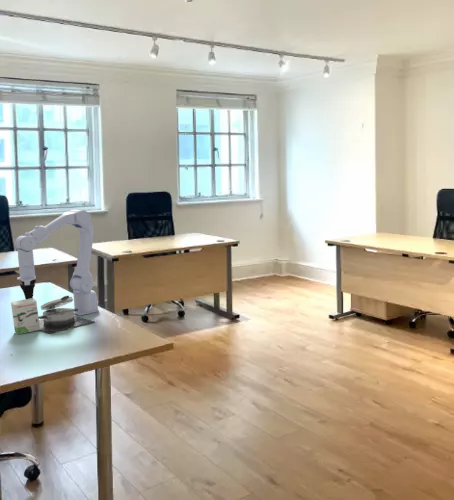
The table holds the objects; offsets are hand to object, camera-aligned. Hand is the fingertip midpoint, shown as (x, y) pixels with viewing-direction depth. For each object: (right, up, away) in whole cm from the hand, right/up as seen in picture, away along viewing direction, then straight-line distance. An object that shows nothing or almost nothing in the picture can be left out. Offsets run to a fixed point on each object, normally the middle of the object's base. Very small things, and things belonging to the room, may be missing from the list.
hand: (29, 299), depth 232 cm
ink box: (+3, -11, -10) cm, 15 cm away
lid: (+12, -2, -1) cm, 12 cm away
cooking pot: (+12, -10, 0) cm, 15 cm away
